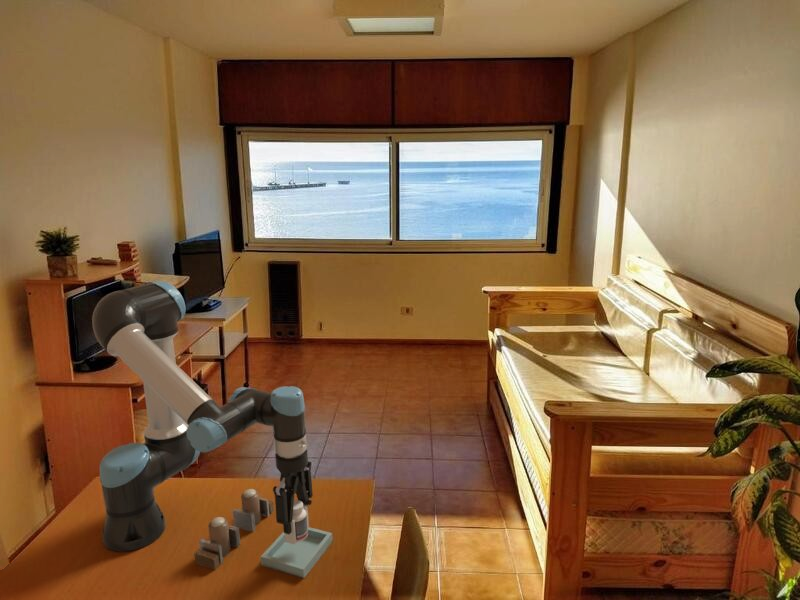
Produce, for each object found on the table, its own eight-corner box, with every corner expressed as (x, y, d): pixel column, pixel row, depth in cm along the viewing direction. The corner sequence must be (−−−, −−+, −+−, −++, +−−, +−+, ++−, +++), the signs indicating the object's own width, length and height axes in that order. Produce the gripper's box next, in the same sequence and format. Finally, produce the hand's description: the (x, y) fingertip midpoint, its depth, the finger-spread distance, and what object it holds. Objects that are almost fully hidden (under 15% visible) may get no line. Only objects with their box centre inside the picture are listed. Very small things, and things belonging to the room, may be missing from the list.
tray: (261, 565, 140) (260, 556, 140) (292, 530, 153) (292, 522, 152) (304, 578, 136) (303, 569, 135) (332, 541, 148) (332, 533, 148)
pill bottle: (311, 530, 145) (309, 499, 143) (303, 543, 140) (301, 512, 138) (291, 527, 146) (288, 497, 144) (283, 541, 141) (280, 509, 139)
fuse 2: (239, 523, 156) (237, 495, 153) (250, 514, 160) (247, 486, 158) (254, 527, 154) (251, 499, 152) (264, 517, 158) (261, 489, 156)
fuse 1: (207, 554, 144) (204, 524, 142) (219, 543, 148) (216, 513, 146) (222, 559, 142) (219, 528, 140) (234, 547, 147) (231, 517, 144)
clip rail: (195, 563, 141) (193, 546, 140) (256, 506, 163) (254, 490, 162) (215, 569, 139) (213, 552, 138) (273, 510, 161) (272, 495, 160)
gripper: (283, 473, 127) (290, 562, 133) (324, 436, 144) (328, 516, 150) (254, 467, 130) (262, 554, 136) (298, 430, 146) (303, 510, 152)
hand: (297, 534), depth 143 cm, fingers closed on pill bottle, 5 cm apart
